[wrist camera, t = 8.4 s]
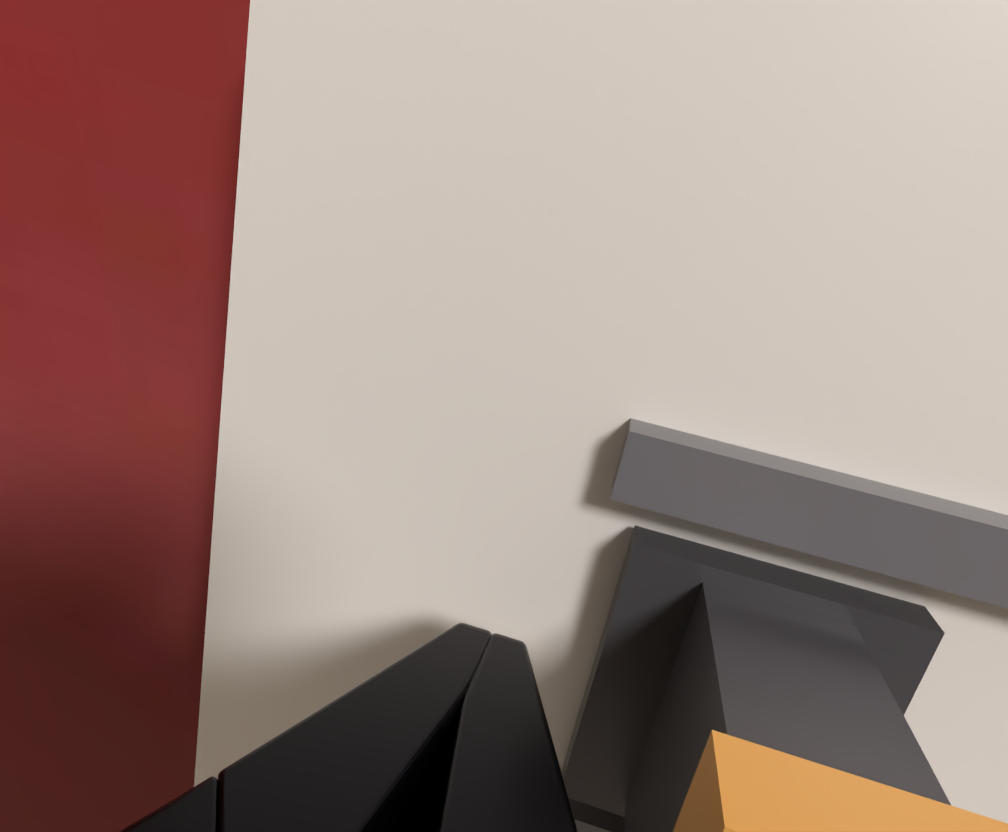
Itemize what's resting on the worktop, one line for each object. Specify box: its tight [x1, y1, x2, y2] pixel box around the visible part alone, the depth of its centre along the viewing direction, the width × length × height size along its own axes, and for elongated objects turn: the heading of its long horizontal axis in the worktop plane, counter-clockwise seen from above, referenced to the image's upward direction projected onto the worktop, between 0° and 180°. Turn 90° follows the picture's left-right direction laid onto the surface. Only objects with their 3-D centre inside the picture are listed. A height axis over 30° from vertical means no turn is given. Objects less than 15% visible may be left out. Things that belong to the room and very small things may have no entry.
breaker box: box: [194, 0, 1008, 832], centre depth 9 cm, size 20×16×4 cm
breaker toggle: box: [562, 525, 1008, 832], centre depth 6 cm, size 3×4×4 cm
